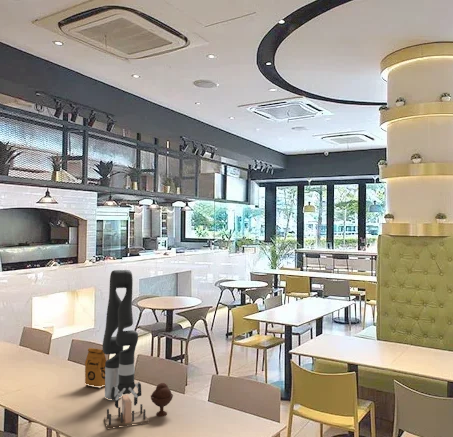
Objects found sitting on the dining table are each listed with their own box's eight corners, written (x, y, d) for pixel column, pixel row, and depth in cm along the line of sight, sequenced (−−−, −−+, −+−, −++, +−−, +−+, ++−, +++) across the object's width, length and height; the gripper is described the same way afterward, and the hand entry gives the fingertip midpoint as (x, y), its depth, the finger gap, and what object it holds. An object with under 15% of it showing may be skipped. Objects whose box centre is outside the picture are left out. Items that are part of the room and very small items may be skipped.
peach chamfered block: (121, 415, 225) (121, 395, 225) (127, 414, 226) (127, 395, 226) (125, 423, 215) (125, 402, 216) (131, 422, 216) (131, 402, 217)
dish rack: (104, 419, 222) (104, 407, 223) (143, 413, 230) (143, 402, 230) (107, 429, 211) (107, 416, 212) (148, 423, 218) (148, 411, 219)
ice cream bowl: (146, 414, 229) (146, 384, 229) (164, 408, 237) (164, 379, 237) (158, 420, 221) (159, 389, 222) (177, 414, 229) (177, 384, 230)
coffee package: (98, 390, 263) (99, 352, 263) (82, 387, 268) (82, 349, 269) (110, 385, 272) (110, 348, 272) (94, 382, 277) (94, 345, 278)
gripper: (139, 368, 227) (139, 401, 227) (110, 371, 222) (109, 405, 222) (142, 373, 220) (142, 407, 220) (112, 376, 215) (112, 411, 215)
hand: (126, 406), depth 221 cm, fingers open, 8 cm apart
